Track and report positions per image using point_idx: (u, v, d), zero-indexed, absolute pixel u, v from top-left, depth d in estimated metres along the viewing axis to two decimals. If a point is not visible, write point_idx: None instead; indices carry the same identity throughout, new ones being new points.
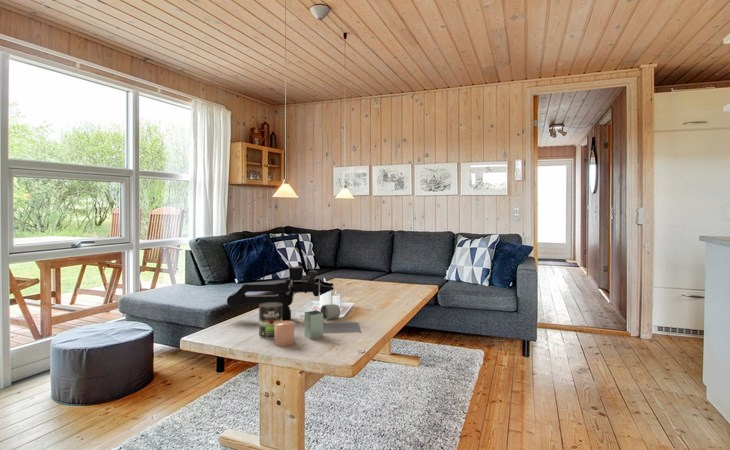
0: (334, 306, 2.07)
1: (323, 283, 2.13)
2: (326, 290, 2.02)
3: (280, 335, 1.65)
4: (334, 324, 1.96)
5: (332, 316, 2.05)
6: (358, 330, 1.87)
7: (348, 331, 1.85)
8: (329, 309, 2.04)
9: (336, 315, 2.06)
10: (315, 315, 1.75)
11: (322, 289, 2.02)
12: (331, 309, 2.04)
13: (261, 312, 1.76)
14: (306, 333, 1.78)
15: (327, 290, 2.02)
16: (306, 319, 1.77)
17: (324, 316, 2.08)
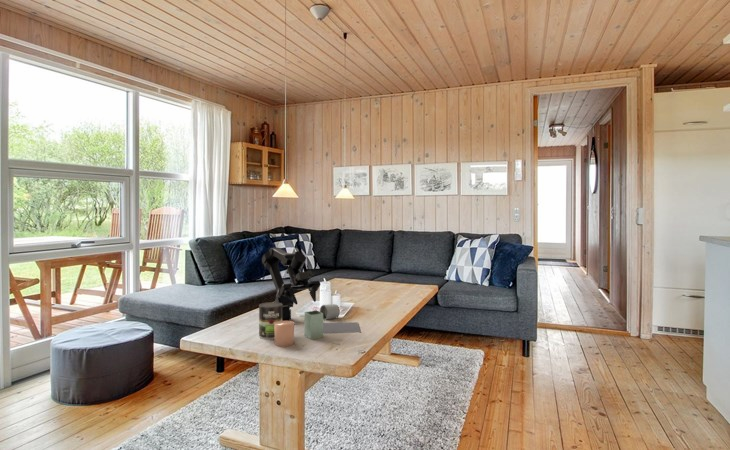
0: (333, 306, 2.07)
1: (312, 291, 1.90)
2: (291, 298, 1.84)
3: (280, 335, 1.65)
4: (334, 324, 1.96)
5: (331, 316, 2.05)
6: (358, 330, 1.87)
7: (348, 331, 1.85)
8: (328, 309, 2.04)
9: (335, 315, 2.06)
10: (315, 315, 1.75)
11: (290, 294, 1.85)
12: (330, 309, 2.05)
13: (261, 312, 1.76)
14: (306, 333, 1.78)
15: (292, 299, 1.84)
16: (306, 319, 1.77)
17: (323, 316, 2.09)
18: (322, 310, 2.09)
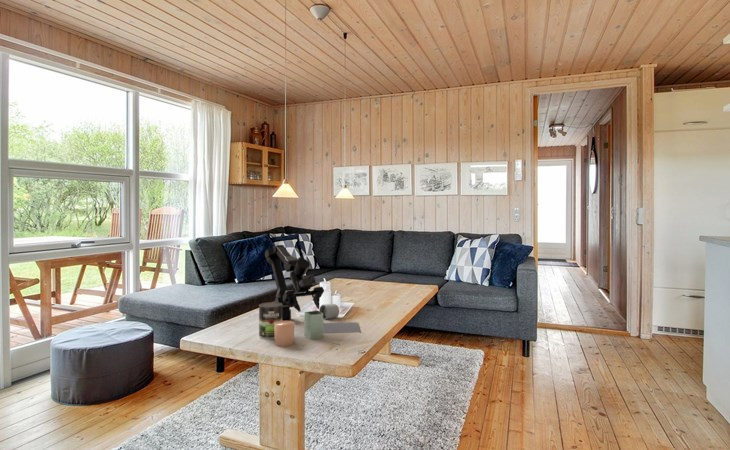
0: (333, 306, 2.08)
1: (316, 298, 1.86)
2: (294, 305, 1.81)
3: (280, 335, 1.65)
4: (334, 324, 1.96)
5: (331, 316, 2.05)
6: (358, 330, 1.87)
7: (348, 331, 1.85)
8: (328, 309, 2.04)
9: (335, 315, 2.07)
10: (315, 315, 1.75)
11: (293, 301, 1.81)
12: (330, 309, 2.05)
13: (261, 312, 1.76)
14: (306, 333, 1.78)
15: (295, 306, 1.80)
16: (306, 319, 1.77)
17: (323, 316, 2.09)
18: (321, 310, 2.10)
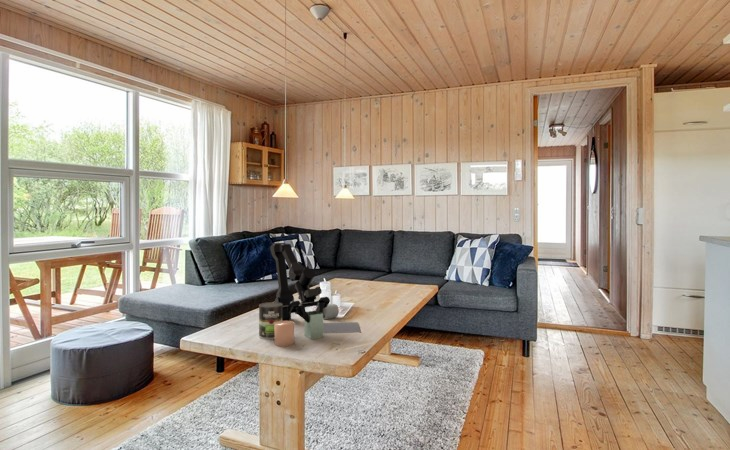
0: (332, 305, 2.08)
1: (319, 309, 1.81)
2: (302, 316, 1.77)
3: (280, 335, 1.65)
4: (334, 324, 1.96)
5: (330, 315, 2.06)
6: (358, 330, 1.87)
7: (348, 331, 1.85)
8: (327, 308, 2.05)
9: (334, 314, 2.07)
10: (315, 315, 1.75)
11: (301, 312, 1.78)
12: (329, 308, 2.05)
13: (261, 312, 1.76)
14: (306, 333, 1.78)
15: (303, 317, 1.77)
16: None
17: None
18: None
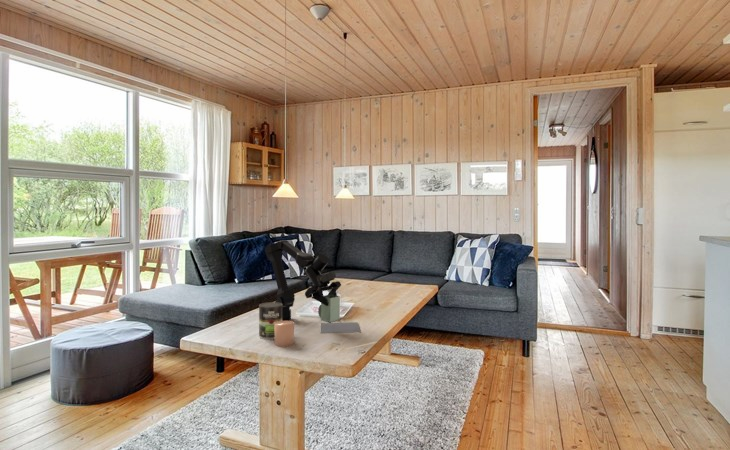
0: None
1: (333, 293, 1.88)
2: (320, 300, 1.82)
3: (280, 335, 1.65)
4: (334, 324, 1.96)
5: None
6: (358, 330, 1.87)
7: (348, 331, 1.85)
8: None
9: None
10: (334, 298, 1.82)
11: (319, 296, 1.83)
12: None
13: (261, 312, 1.76)
14: (323, 317, 1.83)
15: (321, 301, 1.82)
16: None
17: None
18: (320, 309, 2.11)
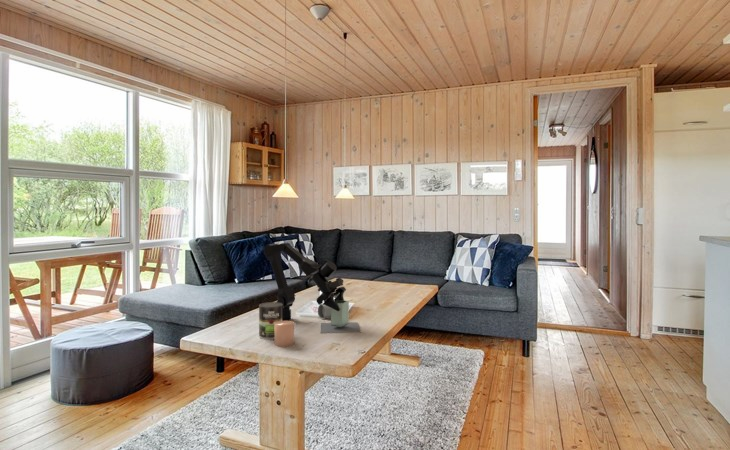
0: None
1: (340, 298, 1.95)
2: (331, 306, 1.88)
3: (280, 335, 1.65)
4: None
5: (329, 315, 2.07)
6: (358, 330, 1.87)
7: (348, 331, 1.85)
8: (326, 308, 2.06)
9: None
10: (344, 303, 1.89)
11: (330, 302, 1.88)
12: (328, 308, 2.06)
13: (261, 312, 1.76)
14: (333, 322, 1.89)
15: (332, 307, 1.88)
16: None
17: (321, 315, 2.10)
18: (320, 309, 2.11)
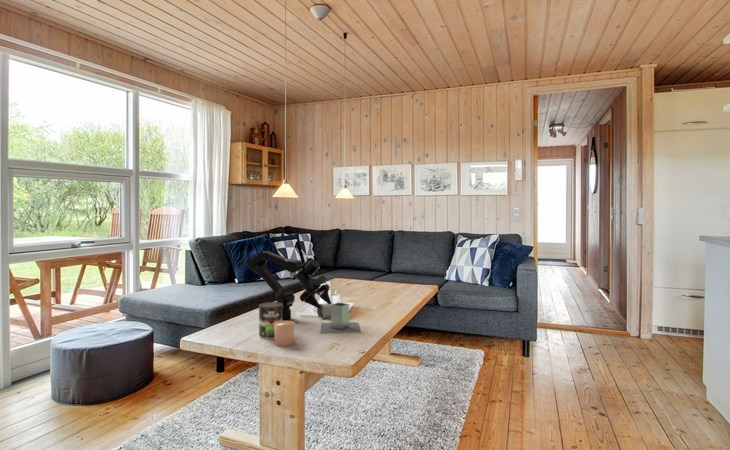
0: (330, 305, 2.09)
1: (325, 294, 2.00)
2: (313, 303, 1.91)
3: (280, 335, 1.65)
4: None
5: (328, 315, 2.07)
6: (358, 330, 1.87)
7: (348, 331, 1.85)
8: (325, 308, 2.06)
9: None
10: (344, 306, 1.89)
11: (311, 299, 1.91)
12: (327, 308, 2.07)
13: (261, 312, 1.76)
14: (333, 325, 1.89)
15: (313, 304, 1.91)
16: (334, 311, 1.89)
17: (321, 315, 2.11)
18: (319, 309, 2.12)
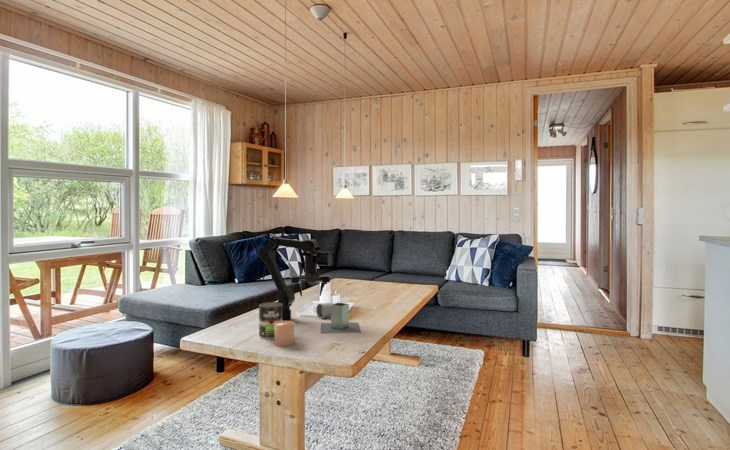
0: (330, 304, 2.10)
1: None
2: None
3: (280, 335, 1.65)
4: None
5: (327, 314, 2.08)
6: (358, 330, 1.87)
7: (348, 331, 1.85)
8: (324, 307, 2.07)
9: None
10: (344, 306, 1.89)
11: None
12: (327, 307, 2.08)
13: (261, 312, 1.76)
14: (333, 325, 1.89)
15: None
16: (334, 311, 1.89)
17: (320, 314, 2.12)
18: (318, 309, 2.12)
